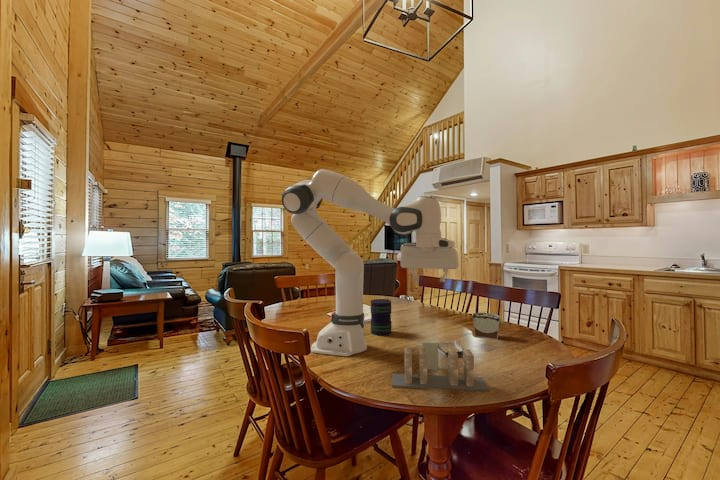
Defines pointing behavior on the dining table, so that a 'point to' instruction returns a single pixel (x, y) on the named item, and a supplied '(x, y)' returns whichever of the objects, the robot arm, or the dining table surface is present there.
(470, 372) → the domino
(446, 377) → the domino mat
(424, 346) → the sage domino
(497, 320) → the food container
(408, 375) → the domino
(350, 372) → the dining table surface
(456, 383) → the domino
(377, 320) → the storage jar
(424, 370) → the domino
